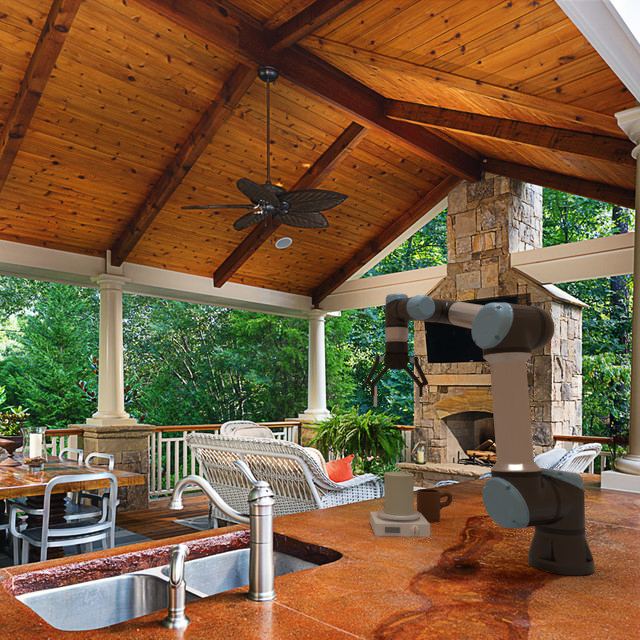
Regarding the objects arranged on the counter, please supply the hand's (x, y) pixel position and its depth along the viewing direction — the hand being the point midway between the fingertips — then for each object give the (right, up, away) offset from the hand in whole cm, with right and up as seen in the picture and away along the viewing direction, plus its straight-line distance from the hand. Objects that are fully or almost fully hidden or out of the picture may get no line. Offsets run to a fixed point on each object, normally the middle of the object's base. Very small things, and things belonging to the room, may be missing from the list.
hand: (396, 407), depth 186 cm
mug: (+13, -38, +4) cm, 40 cm away
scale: (-1, -36, -10) cm, 37 cm away
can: (-1, -31, -10) cm, 32 cm away
